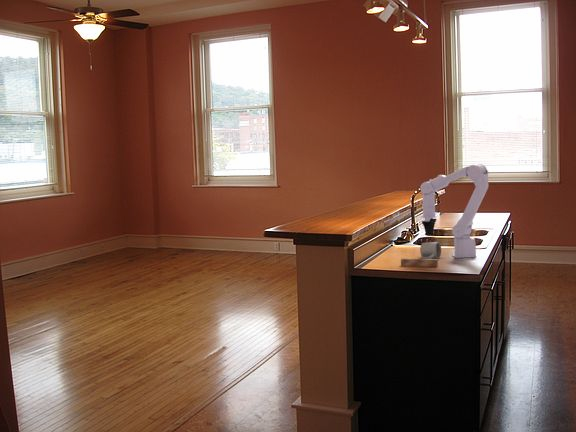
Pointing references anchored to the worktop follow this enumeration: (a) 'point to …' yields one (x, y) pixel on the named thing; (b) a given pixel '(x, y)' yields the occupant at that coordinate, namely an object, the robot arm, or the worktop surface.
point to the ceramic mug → (430, 250)
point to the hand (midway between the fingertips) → (429, 234)
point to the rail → (419, 262)
